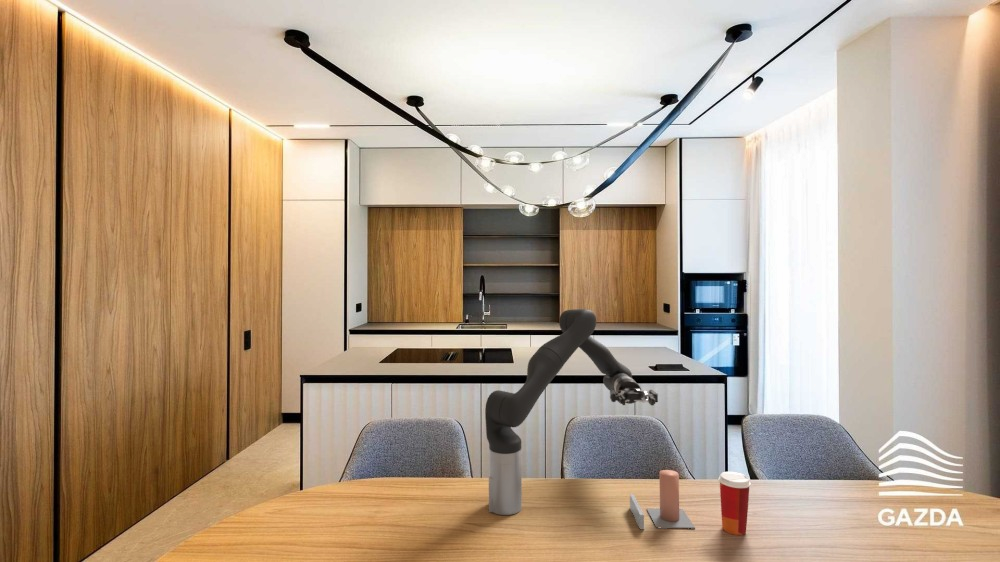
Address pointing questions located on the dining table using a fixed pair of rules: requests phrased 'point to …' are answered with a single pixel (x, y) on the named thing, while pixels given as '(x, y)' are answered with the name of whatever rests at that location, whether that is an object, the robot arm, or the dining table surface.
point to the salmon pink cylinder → (669, 495)
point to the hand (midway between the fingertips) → (638, 402)
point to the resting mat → (659, 522)
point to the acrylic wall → (637, 511)
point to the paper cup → (734, 502)
